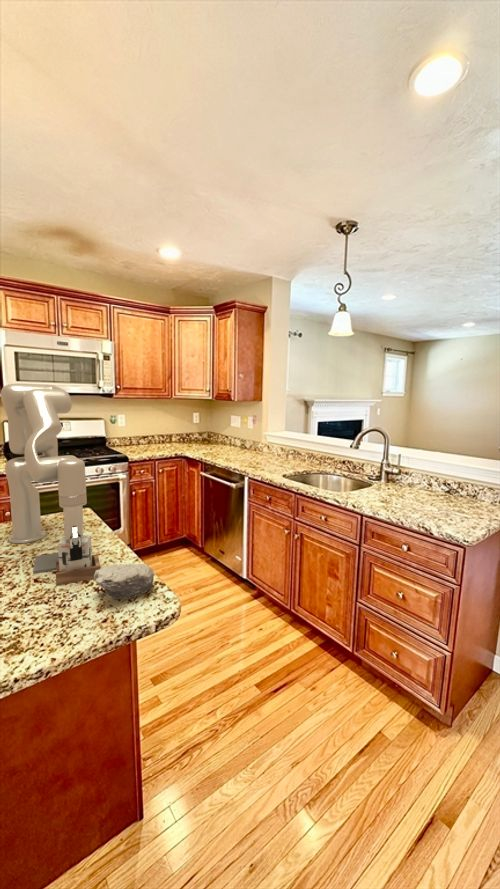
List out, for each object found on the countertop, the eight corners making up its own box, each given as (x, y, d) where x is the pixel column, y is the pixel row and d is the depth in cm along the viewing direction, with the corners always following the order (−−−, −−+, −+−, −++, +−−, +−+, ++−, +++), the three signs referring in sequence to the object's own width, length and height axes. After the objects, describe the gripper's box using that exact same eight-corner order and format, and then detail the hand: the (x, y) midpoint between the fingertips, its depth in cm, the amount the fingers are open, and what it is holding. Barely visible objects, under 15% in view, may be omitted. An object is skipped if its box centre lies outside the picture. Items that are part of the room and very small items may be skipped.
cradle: (56, 571, 116) (56, 560, 115) (98, 563, 121) (97, 554, 121) (56, 586, 107) (55, 574, 107) (100, 577, 112) (100, 566, 112)
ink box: (59, 580, 110) (57, 542, 109) (63, 572, 115) (61, 536, 114) (89, 577, 112) (88, 540, 111) (92, 569, 117) (91, 534, 116)
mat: (35, 558, 124) (35, 556, 124) (74, 552, 130) (74, 550, 130) (33, 574, 114) (33, 571, 114) (75, 566, 119) (75, 564, 119)
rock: (157, 599, 105) (162, 569, 103) (97, 616, 95) (101, 583, 92) (143, 576, 113) (147, 548, 111) (86, 590, 103) (90, 559, 100)
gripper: (59, 494, 116) (62, 545, 119) (58, 509, 101) (62, 567, 103) (85, 491, 120) (87, 541, 122) (88, 505, 105) (91, 562, 107)
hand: (75, 553), depth 113 cm, fingers open, 9 cm apart
